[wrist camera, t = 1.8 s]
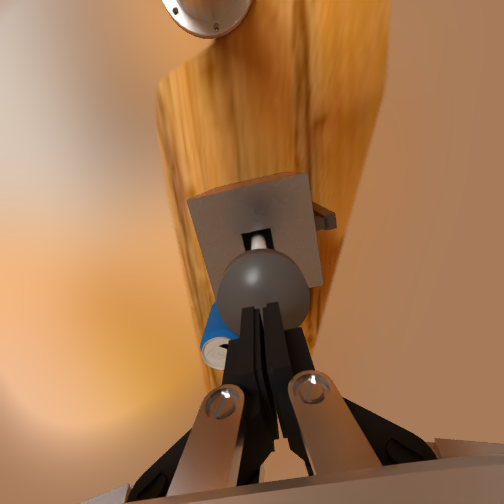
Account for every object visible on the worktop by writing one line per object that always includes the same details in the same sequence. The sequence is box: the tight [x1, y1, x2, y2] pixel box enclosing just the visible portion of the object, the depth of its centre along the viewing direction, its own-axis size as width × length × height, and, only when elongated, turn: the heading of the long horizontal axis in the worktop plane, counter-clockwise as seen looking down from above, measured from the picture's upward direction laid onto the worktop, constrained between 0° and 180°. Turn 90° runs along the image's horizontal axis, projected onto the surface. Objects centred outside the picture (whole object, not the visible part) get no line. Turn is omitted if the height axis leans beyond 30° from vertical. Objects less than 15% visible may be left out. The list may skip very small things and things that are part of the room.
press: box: [187, 172, 337, 302], centre depth 33 cm, size 11×14×19 cm
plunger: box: [217, 228, 310, 336], centre depth 23 cm, size 9×9×19 cm
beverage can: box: [200, 302, 240, 370], centre depth 42 cm, size 6×6×12 cm
